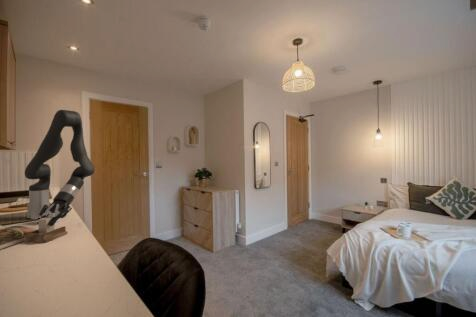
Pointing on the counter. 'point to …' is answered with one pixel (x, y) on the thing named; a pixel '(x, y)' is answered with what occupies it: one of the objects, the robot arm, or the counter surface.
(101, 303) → the counter surface
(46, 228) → the clay bar
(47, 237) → the slot stand
